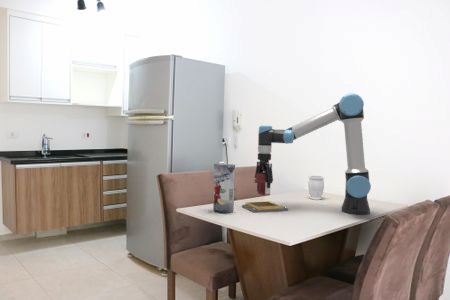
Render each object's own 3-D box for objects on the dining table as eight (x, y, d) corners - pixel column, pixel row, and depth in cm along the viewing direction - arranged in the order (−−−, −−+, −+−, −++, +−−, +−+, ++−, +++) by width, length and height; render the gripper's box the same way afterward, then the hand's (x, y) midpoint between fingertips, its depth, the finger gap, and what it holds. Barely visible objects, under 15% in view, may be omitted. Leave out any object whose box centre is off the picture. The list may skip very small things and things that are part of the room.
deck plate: (287, 210, 207) (288, 205, 207) (254, 212, 199) (254, 207, 199) (273, 205, 222) (273, 200, 222) (241, 207, 214) (241, 202, 214)
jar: (325, 200, 245) (326, 177, 244) (309, 199, 245) (310, 177, 244) (321, 197, 255) (322, 175, 255) (306, 197, 255) (307, 175, 255)
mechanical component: (272, 193, 214) (271, 196, 204) (255, 192, 216) (253, 194, 206) (273, 172, 213) (271, 173, 204) (256, 171, 215) (253, 172, 206)
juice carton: (222, 209, 207) (223, 160, 206) (236, 212, 200) (237, 162, 199) (210, 211, 201) (211, 161, 200) (224, 214, 193) (225, 162, 192)
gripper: (249, 151, 218) (248, 189, 219) (268, 154, 197) (266, 195, 198) (261, 152, 221) (259, 189, 222) (280, 154, 200) (278, 195, 201)
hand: (263, 192), depth 210 cm, fingers closed on mechanical component, 10 cm apart
